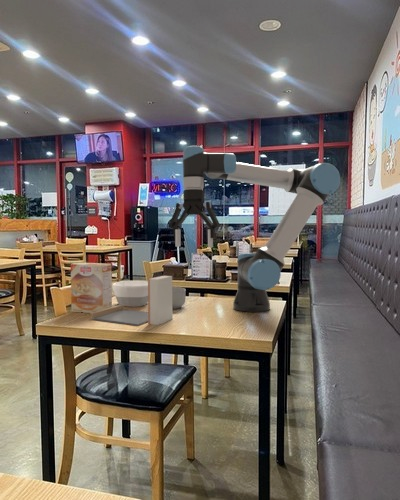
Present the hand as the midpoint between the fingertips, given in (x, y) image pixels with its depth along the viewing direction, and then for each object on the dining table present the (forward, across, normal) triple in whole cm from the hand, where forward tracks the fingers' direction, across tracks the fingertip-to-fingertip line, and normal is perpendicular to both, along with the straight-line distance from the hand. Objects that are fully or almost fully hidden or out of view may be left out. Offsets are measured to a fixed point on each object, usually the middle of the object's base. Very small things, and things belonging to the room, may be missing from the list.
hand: (193, 246), depth 149 cm
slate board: (+26, +22, +11) cm, 36 cm away
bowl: (+27, +36, -11) cm, 46 cm away
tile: (+27, +8, +11) cm, 30 cm away
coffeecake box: (+27, +42, +9) cm, 51 cm away
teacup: (+27, +18, -12) cm, 35 cm away
